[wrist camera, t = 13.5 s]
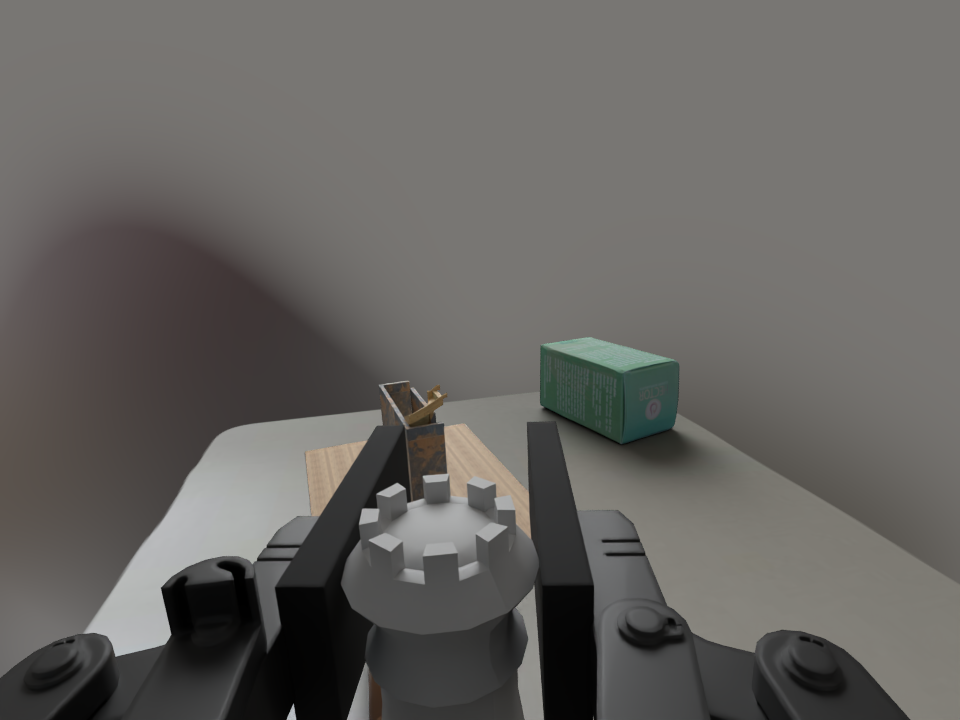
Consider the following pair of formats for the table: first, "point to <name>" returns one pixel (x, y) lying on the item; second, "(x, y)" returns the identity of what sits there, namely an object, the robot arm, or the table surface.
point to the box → (609, 387)
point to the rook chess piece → (443, 600)
